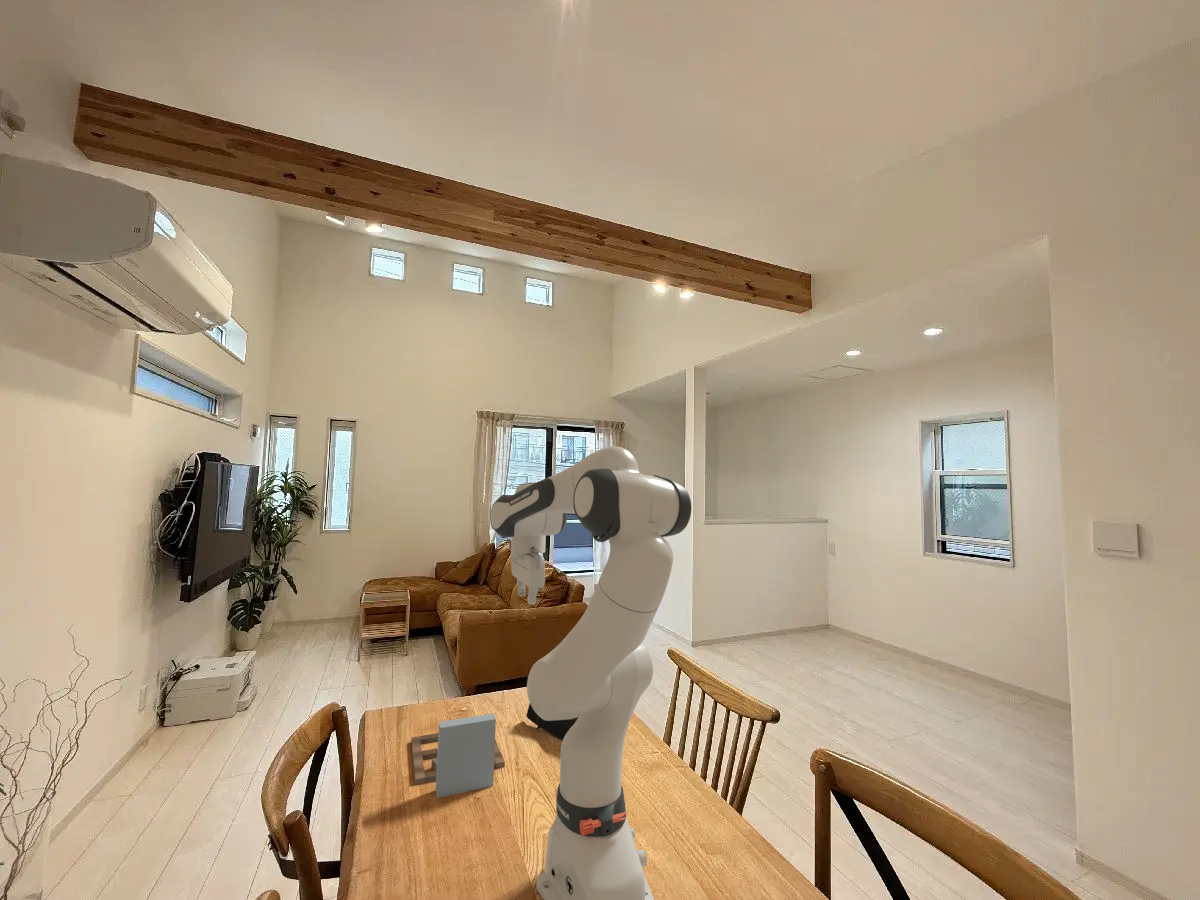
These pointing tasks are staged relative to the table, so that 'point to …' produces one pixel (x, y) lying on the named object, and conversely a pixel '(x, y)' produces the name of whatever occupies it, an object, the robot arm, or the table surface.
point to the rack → (428, 754)
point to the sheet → (465, 754)
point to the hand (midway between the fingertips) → (526, 600)
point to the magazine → (551, 724)
